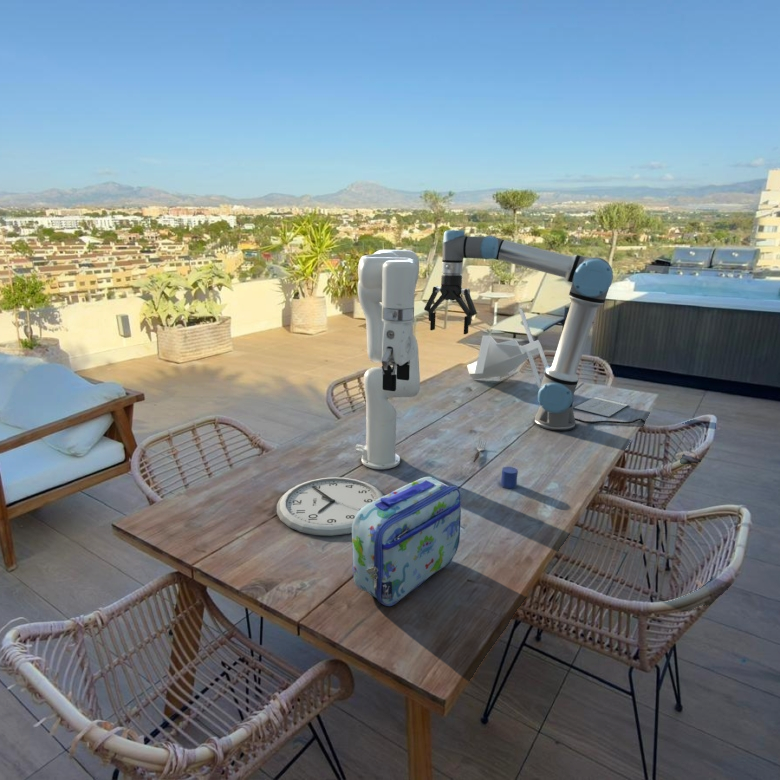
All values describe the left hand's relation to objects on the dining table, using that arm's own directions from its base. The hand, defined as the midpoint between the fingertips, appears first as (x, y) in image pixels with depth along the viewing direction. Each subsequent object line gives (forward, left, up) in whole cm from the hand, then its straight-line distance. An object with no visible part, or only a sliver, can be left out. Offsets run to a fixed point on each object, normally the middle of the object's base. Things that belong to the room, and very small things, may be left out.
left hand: (396, 384), depth 127 cm
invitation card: (+51, +119, -36) cm, 134 cm away
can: (+25, +30, -36) cm, 53 cm away
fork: (+12, +48, -36) cm, 61 cm away
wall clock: (-17, -1, -36) cm, 40 cm away
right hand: (-7, +75, -1) cm, 76 cm away
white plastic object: (+8, +132, -36) cm, 137 cm away
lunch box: (+12, -23, -36) cm, 44 cm away
